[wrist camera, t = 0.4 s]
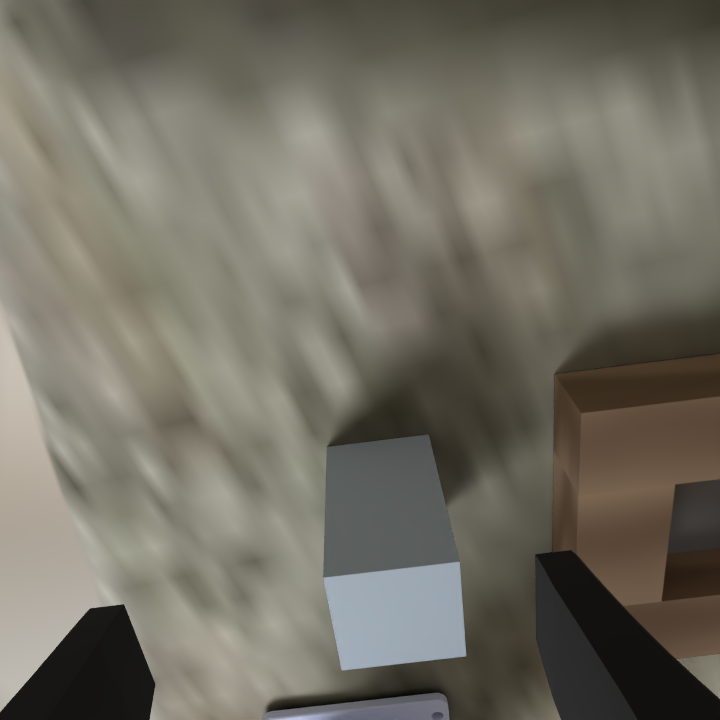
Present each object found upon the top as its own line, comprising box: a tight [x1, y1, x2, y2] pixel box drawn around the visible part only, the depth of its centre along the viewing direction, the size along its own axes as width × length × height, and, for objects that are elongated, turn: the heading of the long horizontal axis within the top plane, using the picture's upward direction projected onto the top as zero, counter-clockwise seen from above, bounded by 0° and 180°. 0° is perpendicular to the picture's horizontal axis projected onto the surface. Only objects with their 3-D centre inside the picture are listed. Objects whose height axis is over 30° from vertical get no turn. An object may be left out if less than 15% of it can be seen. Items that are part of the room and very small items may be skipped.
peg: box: [323, 434, 466, 670], centre depth 20 cm, size 4×4×6 cm
